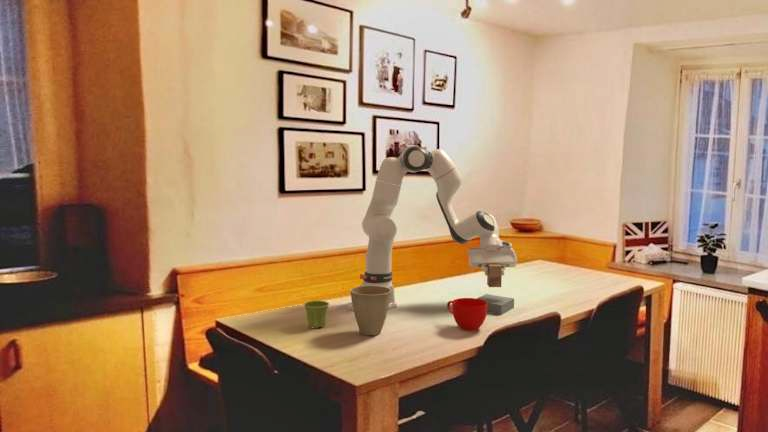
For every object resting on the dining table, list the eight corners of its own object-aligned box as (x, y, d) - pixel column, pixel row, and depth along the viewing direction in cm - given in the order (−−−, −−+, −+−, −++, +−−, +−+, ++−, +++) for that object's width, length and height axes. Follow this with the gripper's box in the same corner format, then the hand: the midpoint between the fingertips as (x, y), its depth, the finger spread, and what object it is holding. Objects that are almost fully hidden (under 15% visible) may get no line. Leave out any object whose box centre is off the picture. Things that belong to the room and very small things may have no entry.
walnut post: (501, 287, 236) (501, 265, 235) (489, 287, 236) (489, 265, 235) (498, 284, 241) (499, 263, 240) (487, 284, 241) (487, 263, 240)
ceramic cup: (457, 319, 225) (458, 294, 224) (493, 328, 213) (494, 302, 212) (436, 325, 216) (437, 300, 215) (472, 336, 204) (473, 309, 203)
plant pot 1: (318, 331, 208) (318, 308, 207) (299, 327, 213) (298, 304, 212) (334, 325, 216) (334, 302, 215) (314, 321, 221) (314, 299, 220)
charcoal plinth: (501, 314, 231) (501, 305, 230) (472, 309, 238) (472, 300, 238) (513, 307, 241) (514, 298, 241) (485, 302, 249) (486, 294, 248)
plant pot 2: (396, 337, 202) (396, 293, 201) (355, 340, 198) (355, 296, 196) (384, 324, 217) (384, 284, 215) (346, 328, 212) (346, 286, 211)
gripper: (467, 243, 244) (470, 270, 235) (515, 243, 244) (520, 270, 235) (466, 251, 249) (469, 278, 240) (512, 251, 249) (517, 278, 240)
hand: (494, 274), depth 238 cm, fingers closed on walnut post, 5 cm apart
